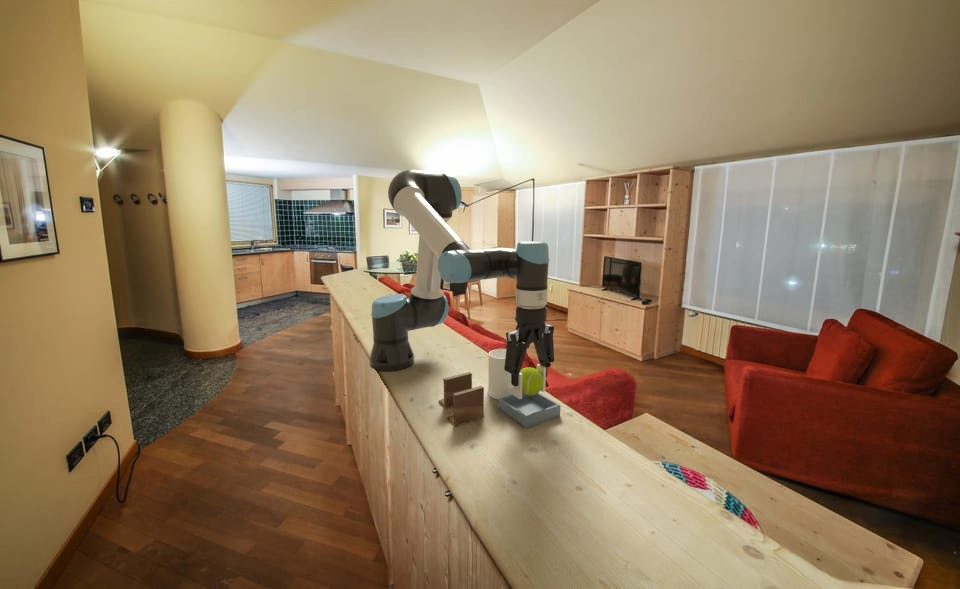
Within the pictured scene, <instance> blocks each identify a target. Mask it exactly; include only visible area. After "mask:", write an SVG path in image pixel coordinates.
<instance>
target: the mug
mask: <svg viewBox="0 0 960 589" xmlns="http://www.w3.org/2000/svg"><path fill="white" fill-rule="evenodd" d="M505 357H506V348H497V349H493V350H490V351H489V352H488V384H487V385H488V388H487V395H488V396H489V397H490V398H493V399H494V400H499V398H502V397H505V396H509V395H512V394H513V385H512V384H511V373H509V372H507V371H505V370H504V366H505Z"/></svg>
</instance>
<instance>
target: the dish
mask: <svg viewBox="0 0 960 589" xmlns="http://www.w3.org/2000/svg"><path fill="white" fill-rule="evenodd" d="M497 409H498V410H499V411H500V412H501V413H503V414H504V415H506V416H507V417H508V418H510V419H511V420H512V421H514V422H515V423H517V424H518V425H519V426H521V427H522V428H524V429H526V430H527V429H529V428H532V427H535V426H537V425H540V424H542V423H545V422H548V421H550V420H553V419H555V418H558V417H560V416H561V404H560V403H558V402H556V401H555V400H553V399H551V398H549V397H547V396H546V395H544V394H542V393H540V391H539V392H538V393H537V394H535V395H531V396H528V395H524V394H522V399H518V398H517V397H515V396H514V395H513V394H512V395H509V396H505V397H502V398H499V399H498V408H497Z"/></svg>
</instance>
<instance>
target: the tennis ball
mask: <svg viewBox="0 0 960 589" xmlns="http://www.w3.org/2000/svg"><path fill="white" fill-rule="evenodd" d="M520 373H522V374H523V377H522V394H524V395H528V396H531V395H535V394H537V393H538V392H539V393H540V392H541V389H542V387H543V377H542V375H541V373H540V372H539V371H538V370H537V368H534V367H529V366H527V367H524V368H521V370H520Z"/></svg>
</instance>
